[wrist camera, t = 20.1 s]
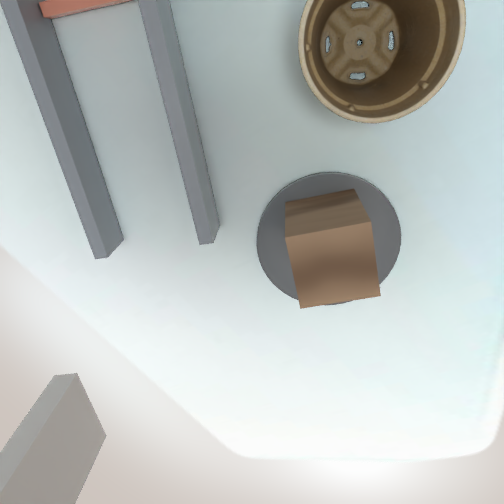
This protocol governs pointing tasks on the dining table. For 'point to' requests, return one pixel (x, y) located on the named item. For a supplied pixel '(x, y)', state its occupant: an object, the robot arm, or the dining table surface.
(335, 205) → the block
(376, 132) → the dining table surface
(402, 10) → the flower pot
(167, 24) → the channel
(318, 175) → the coaster
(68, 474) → the robot arm
